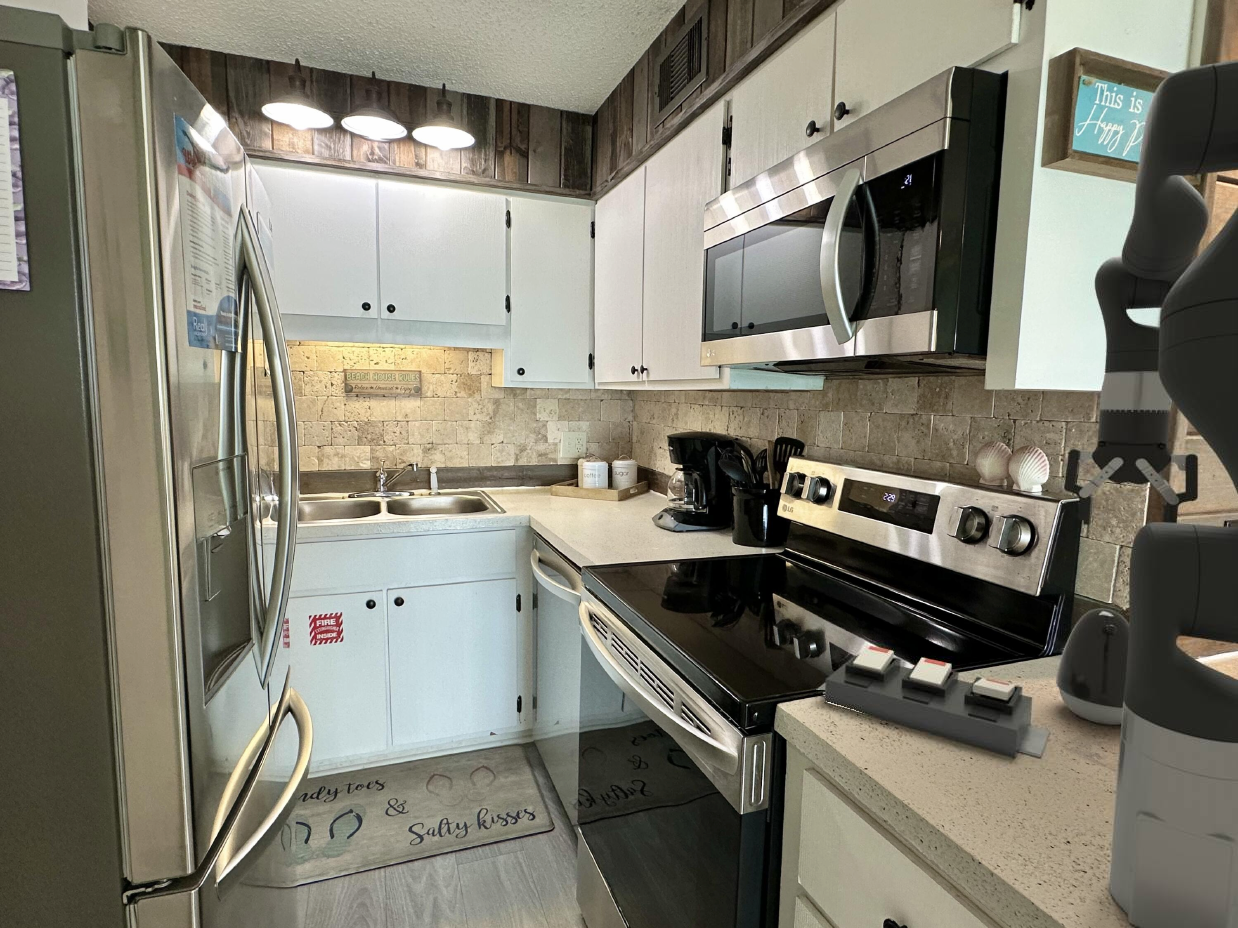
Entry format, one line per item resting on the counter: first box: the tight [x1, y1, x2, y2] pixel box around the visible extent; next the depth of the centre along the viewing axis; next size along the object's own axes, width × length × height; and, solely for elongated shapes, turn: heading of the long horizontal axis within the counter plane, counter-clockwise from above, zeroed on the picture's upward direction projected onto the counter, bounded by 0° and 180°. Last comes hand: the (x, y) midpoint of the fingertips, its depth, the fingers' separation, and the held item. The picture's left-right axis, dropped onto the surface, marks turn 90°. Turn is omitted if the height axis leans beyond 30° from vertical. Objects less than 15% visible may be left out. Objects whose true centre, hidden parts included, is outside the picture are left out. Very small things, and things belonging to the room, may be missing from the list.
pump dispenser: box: [1055, 607, 1129, 726], centre depth 94 cm, size 10×10×15 cm
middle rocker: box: [910, 657, 952, 687], centre depth 97 cm, size 6×4×1 cm, turn 141°
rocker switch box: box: [816, 653, 1051, 759], centre depth 95 cm, size 12×29×5 cm, turn 51°
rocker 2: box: [973, 677, 1016, 700], centre depth 92 cm, size 6×4×1 cm, turn 141°
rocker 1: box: [853, 644, 895, 672], centre depth 102 cm, size 6×4×1 cm, turn 141°
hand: (1125, 528), depth 92 cm, fingers open, 8 cm apart
